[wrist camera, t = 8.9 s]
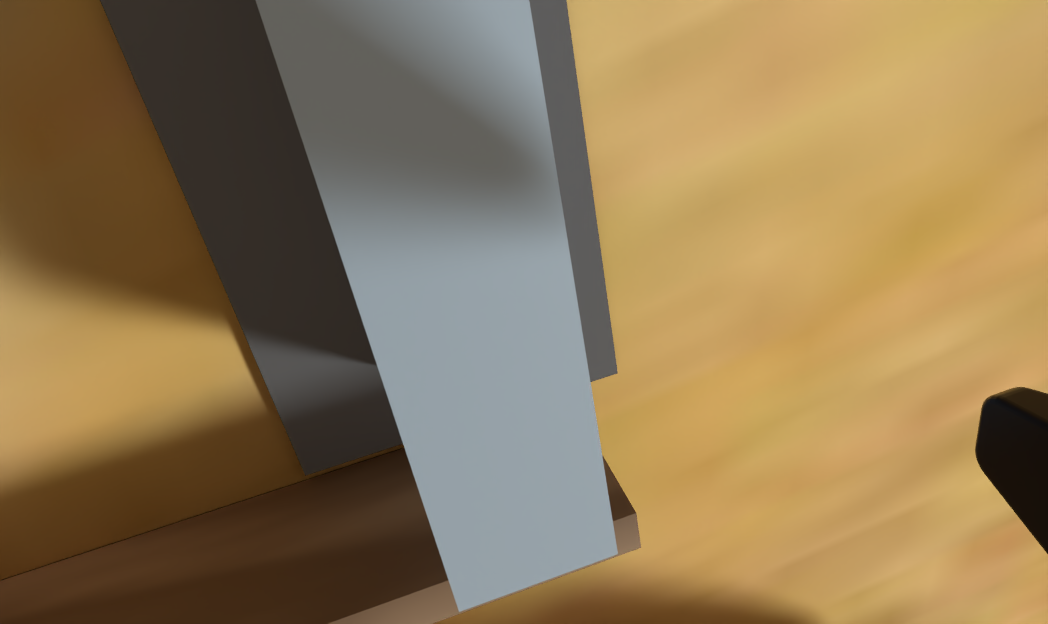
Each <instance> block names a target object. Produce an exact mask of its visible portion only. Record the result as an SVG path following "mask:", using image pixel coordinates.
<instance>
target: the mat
mask: <svg viewBox="0 0 1048 624" xmlns="http://www.w3.org/2000/svg"><path fill="white" fill-rule="evenodd" d="M100 1H101V4H102V6H103V8H104V11H105V13H106V15H107V17H108V20H109V22H110V24H111V27H112V29H113V31H114V34H115V36H116V38H117V41H118V43H119V45H120V48H121V50H122V52H123V55H124V57H125V59H126V61H127V64H128V66H129V68H130V71H131V73H132V75H133V78H134V80H135V82H136V85H137V87H138V89H139V92H140V94H141V96H142V98H143V101H144V103H145V105H146V108H147V110H148V112H149V115H150V117H151V119H152V122H153V124H154V126H155V129H156V131H157V133H158V136H159V138H160V140H161V142H162V145H163V147H164V149H165V152H166V154H167V156H168V159H169V161H170V163H171V166H172V168H173V170H174V173H175V175H176V177H177V180H178V182H179V184H180V186H181V189H182V191H183V193H184V196H185V198H186V200H187V203H188V205H189V207H190V210H191V212H192V214H193V217H194V219H195V221H196V224H197V226H198V228H199V230H200V233H201V235H202V237H203V240H204V242H205V244H206V247H207V249H208V251H209V254H210V256H211V258H212V261H213V263H214V265H215V267H216V270H217V272H218V274H219V277H220V279H221V281H222V284H223V286H224V288H225V291H226V293H227V295H228V298H229V300H230V302H231V305H232V307H233V309H234V311H235V314H236V316H237V318H238V321H239V323H240V325H241V328H242V330H243V332H244V335H245V337H246V339H247V342H248V344H249V346H250V349H251V351H252V353H253V355H254V358H255V360H256V362H257V365H258V367H259V369H260V372H261V374H262V376H263V379H264V381H265V383H266V386H267V388H268V390H269V393H270V395H271V397H272V399H273V402H274V404H275V406H276V409H277V411H278V413H279V416H280V418H281V420H282V423H283V425H284V427H285V430H286V432H287V434H288V437H289V439H290V441H291V443H292V446H293V448H294V450H295V453H296V455H297V457H298V460H299V462H300V464H301V467H302V469H303V471H304V474H305V476H306V475H309V474H312V473H315V472H318V471H321V470H324V469H327V468H330V467H333V466H336V465H339V464H342V463H345V462H348V461H351V460H355V459H358V458H361V457H364V456H367V455H370V454H373V453H376V452H379V451H382V450H385V449H388V448H391V447H394V446H397V445H400V444H403V442H402V439H401V436H400V433H399V430H398V427H397V424H396V421H395V418H394V415H393V412H392V409H391V406H390V403H389V400H388V397H387V394H386V391H385V388H384V385H383V382H382V379H381V376H380V373H379V370H378V367H377V364H376V361H375V358H374V355H373V352H372V349H371V346H370V343H369V340H368V337H367V334H366V331H365V328H364V325H363V322H362V319H361V316H360V313H359V310H358V307H357V304H356V301H355V298H354V295H353V292H352V289H351V286H350V283H349V280H348V277H347V274H346V271H345V268H344V265H343V262H342V259H341V256H340V253H339V250H338V247H337V244H336V241H335V238H334V235H333V232H332V229H331V226H330V223H329V220H328V217H327V214H326V211H325V207H324V204H323V201H322V198H321V195H320V192H319V189H318V186H317V183H316V180H315V177H314V174H313V171H312V168H311V165H310V162H309V159H308V156H307V153H306V150H305V147H304V144H303V141H302V138H301V135H300V132H299V129H298V126H297V123H296V120H295V117H294V114H293V111H292V108H291V105H290V102H289V99H288V96H287V93H286V90H285V87H284V84H283V81H282V78H281V75H280V72H279V69H278V66H277V63H276V60H275V57H274V54H273V51H272V48H271V45H270V42H269V39H268V36H267V33H266V30H265V27H264V24H263V21H262V18H261V15H260V12H259V9H258V6H257V3H256V0H100ZM529 2H530V8H531V14H532V21H533V27H534V33H535V39H536V46H537V52H538V58H539V64H540V71H541V77H542V83H543V89H544V96H545V102H546V108H547V114H548V121H549V127H550V133H551V139H552V145H553V152H554V158H555V164H556V170H557V177H558V183H559V189H560V195H561V202H562V208H563V214H564V220H565V227H566V233H567V239H568V245H569V252H570V258H571V264H572V270H573V277H574V283H575V289H576V295H577V301H578V308H579V314H580V320H581V326H582V333H583V339H584V345H585V351H586V358H587V364H588V370H589V376H590V382H592V381H595V380H598V379H601V378H604V377H607V376H610V375H614V374H617V373H618V372H617V365H616V358H615V351H614V343H613V336H612V329H611V322H610V314H609V307H608V300H607V292H606V285H605V278H604V271H603V263H602V256H601V249H600V242H599V234H598V227H597V220H596V213H595V205H594V198H593V191H592V184H591V176H590V169H589V162H588V155H587V147H586V140H585V133H584V126H583V118H582V111H581V104H580V97H579V89H578V82H577V75H576V68H575V60H574V53H573V46H572V39H571V31H570V24H569V17H568V9H567V2H566V0H529Z"/></svg>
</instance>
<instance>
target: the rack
mask: <svg viewBox="0 0 1048 624" xmlns="http://www.w3.org/2000/svg"><path fill="white" fill-rule="evenodd" d="M602 457H603V456H602ZM603 464H604V470H605V476H606V482H607V489H608V495H609V501H610V507H611V514H612V520H613V526H614V532H615V539H616V545H617V551H618V554H617V555H614V556H612V557H609V558H606V559H603V560H601V561H598V562H595V563H593V564H590V565H587V566H584V567H582V568H579V569H576V570H573V571H571V572H568V573H565V574H562V575H560V576H557V577H554V578H551V579H549V580H546V581H543V582H540V583H538V584H535V585H532V586H529V587H527V588H524V589H521V590H518V591H516V592H513V593H510V594H507V595H505V596H502V597H499V598H497V599H494V600H491V601H488V602H486V603H483V604H480V605H477V606H475V607H472V608H469V609H466V610H464V611H461V612H459V610H458V607H457V604H456V601H455V598H454V595H453V592H452V589H451V586H450V583H449V580H448V577H447V574H446V571H445V568H444V565H443V562H442V559H441V556H440V553H439V550H438V547H437V544H436V541H435V538H434V535H433V532H432V529H431V526H430V523H429V520H428V517H427V514H426V511H425V508H424V505H423V502H422V499H421V496H420V493H419V490H418V487H417V484H416V481H415V478H414V475H413V472H412V469H411V466H410V463H409V460H408V457H407V454H406V451H405V448H402V449H399V450H396V451H393V452H390V453H387V454H384V455H381V456H378V457H375V458H372V459H369V460H366V461H363V462H360V463H357V464H354V465H351V466H348V467H345V468H342V469H339V470H336V471H333V472H330V473H327V474H324V475H320V476H317V477H314V478H311V479H308V480H305V481H302V482H299V483H296V484H293V485H290V486H287V487H284V488H281V489H278V490H275V491H272V492H269V493H266V494H263V495H260V496H257V497H254V498H251V499H248V500H245V501H241V502H238V503H235V504H232V505H229V506H226V507H223V508H220V509H217V510H214V511H211V512H208V513H205V514H202V515H199V516H196V517H193V518H190V519H187V520H184V521H181V522H178V523H175V524H172V525H169V526H166V527H162V528H159V529H156V530H153V531H150V532H147V533H144V534H141V535H138V536H135V537H132V538H129V539H126V540H123V541H120V542H117V543H114V544H111V545H108V546H105V547H102V548H99V549H96V550H93V551H90V552H87V553H83V554H80V555H77V556H74V557H71V558H68V559H65V560H62V561H59V562H56V563H53V564H50V565H47V566H44V567H41V568H38V569H35V570H32V571H29V572H26V573H23V574H20V575H17V576H14V577H11V578H8V579H4V580H1V581H0V624H433V623H436V622H439V621H441V620H444V619H447V618H450V617H452V616H455V615H458V614H461V613H463V612H466V611H469V610H471V609H474V608H477V607H480V606H482V605H485V604H488V603H491V602H493V601H496V600H499V599H502V598H504V597H507V596H510V595H512V594H515V593H518V592H521V591H523V590H526V589H529V588H532V587H534V586H537V585H540V584H543V583H545V582H548V581H551V580H554V579H556V578H559V577H562V576H564V575H567V574H570V573H573V572H575V571H578V570H581V569H584V568H586V567H589V566H592V565H595V564H597V563H600V562H603V561H605V560H608V559H611V558H614V557H616V556H619V555H622V554H625V553H627V552H630V551H633V550H636V549H638V548H641V544H640V537H639V530H638V523H637V515H636V512H635V510H634V508H633V507H632V505H631V503H630V502H629V500H628V498H627V497H626V495H625V493H624V491H623V490H622V488H621V486H620V485H619V483H618V481H617V479H616V478H615V476H614V474H613V473H612V471H611V469H610V467H609V466H608V464H607V462H606V461H605V459H604V457H603Z"/></svg>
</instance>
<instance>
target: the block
mask: <svg viewBox="0 0 1048 624" xmlns="http://www.w3.org/2000/svg"><path fill="white" fill-rule="evenodd" d="M256 3H257V6H258V9H259V12H260V15H261V18H262V21H263V24H264V27H265V30H266V33H267V36H268V39H269V42H270V45H271V48H272V51H273V54H274V57H275V60H276V63H277V66H278V69H279V72H280V75H281V78H282V81H283V84H284V87H285V90H286V93H287V96H288V99H289V102H290V105H291V108H292V111H293V114H294V117H295V120H296V123H297V126H298V129H299V132H300V135H301V138H302V141H303V144H304V147H305V150H306V153H307V156H308V159H309V162H310V165H311V168H312V171H313V174H314V177H315V180H316V183H317V186H318V189H319V192H320V195H321V198H322V201H323V204H324V207H325V211H326V214H327V217H328V220H329V223H330V226H331V229H332V232H333V235H334V238H335V241H336V244H337V247H338V250H339V253H340V256H341V259H342V262H343V265H344V268H345V271H346V274H347V277H348V280H349V283H350V286H351V289H352V292H353V295H354V298H355V301H356V304H357V307H358V310H359V313H360V316H361V319H362V322H363V325H364V328H365V331H366V334H367V337H368V340H369V343H370V346H371V349H372V352H373V355H374V358H375V361H376V364H377V367H378V370H379V373H380V376H381V379H382V382H383V385H384V388H385V391H386V394H387V397H388V400H389V403H390V406H391V409H392V412H393V415H394V418H395V421H396V424H397V427H398V430H399V433H400V436H401V439H402V442H403V445H404V448H405V451H406V454H407V457H408V460H409V463H410V466H411V469H412V472H413V475H414V478H415V481H416V484H417V487H418V490H419V493H420V496H421V499H422V502H423V505H424V508H425V511H426V514H427V517H428V520H429V523H430V526H431V529H432V532H433V535H434V538H435V541H436V544H437V547H438V550H439V553H440V556H441V559H442V562H443V565H444V568H445V571H446V574H447V577H448V580H449V583H450V586H451V589H452V592H453V595H454V598H455V601H456V604H457V607H458V610H459V612H461V611H464V610H466V609H469V608H472V607H475V606H477V605H480V604H483V603H486V602H488V601H491V600H494V599H497V598H499V597H502V596H505V595H507V594H510V593H513V592H516V591H518V590H521V589H524V588H527V587H529V586H532V585H535V584H538V583H540V582H543V581H546V580H549V579H551V578H554V577H557V576H560V575H562V574H565V573H568V572H571V571H573V570H576V569H579V568H582V567H584V566H587V565H590V564H593V563H595V562H598V561H601V560H603V559H606V558H609V557H612V556H614V555H617V554H618V551H617V545H616V539H615V532H614V526H613V520H612V514H611V507H610V501H609V495H608V489H607V482H606V476H605V470H604V464H603V457H602V451H601V445H600V439H599V432H598V426H597V420H596V414H595V408H594V401H593V395H592V389H591V383H590V376H589V370H588V364H587V358H586V351H585V345H584V339H583V333H582V326H581V320H580V314H579V308H578V301H577V295H576V289H575V283H574V277H573V270H572V264H571V258H570V252H569V245H568V239H567V233H566V227H565V220H564V214H563V208H562V202H561V195H560V189H559V183H558V177H557V170H556V164H555V158H554V152H553V145H552V139H551V133H550V127H549V121H548V114H547V108H546V102H545V96H544V89H543V83H542V77H541V71H540V64H539V58H538V52H537V46H536V39H535V33H534V27H533V21H532V14H531V8H530V2H529V0H256Z"/></svg>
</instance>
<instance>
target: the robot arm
mask: <svg viewBox="0 0 1048 624" xmlns="http://www.w3.org/2000/svg"><path fill="white" fill-rule="evenodd" d="M975 453H976V458H977V461H978V463H979V465H980V467H981V469H982V471H983V472H984V474H985V475H986V476H987V477H988V479H989V480H990V481H991V482H992V484H993V485H994V486H995V488H996V489H997V490H998V491H999V493H1000V494H1001V495H1002V496H1003V498H1004V499H1005V500H1006V502H1007V503H1008V504H1009V505H1010V507H1011V508H1012V509H1013V510H1014V512H1015V513H1016V514H1017V516H1018V517H1019V518H1020V519H1021V521H1022V522H1023V523H1024V524H1025V526H1026V527H1027V528H1028V530H1029V531H1030V532H1031V533H1032V535H1033V536H1034V537H1035V538H1036V540H1037V541H1038V542H1039V544H1040V545H1041V546H1042V547H1043V549H1044V550H1045V551H1046V552H1047V554H1048V394H1047V393H1043V392H1040V391H1036V390H1033V389H1029V388H1025V387H1016V388H1012V389H1009V390H1006V391H1003V392H1000V393H998V394H995V395H992V396H990V397H988V398H987V399H986V400H985V401H984V403H983V405H982V409H981V415H980V421H979V428H978V434H977V440H976V446H975Z"/></svg>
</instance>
